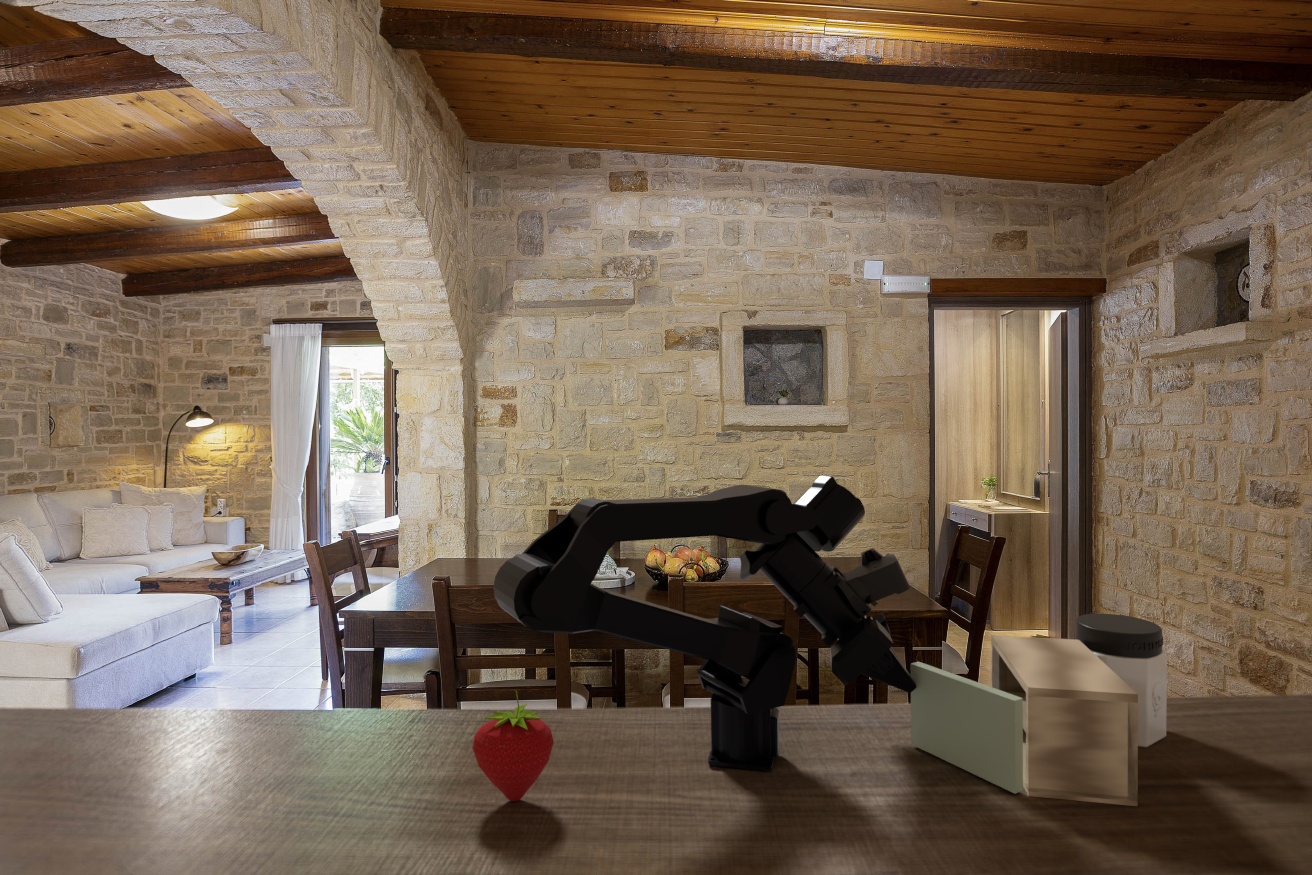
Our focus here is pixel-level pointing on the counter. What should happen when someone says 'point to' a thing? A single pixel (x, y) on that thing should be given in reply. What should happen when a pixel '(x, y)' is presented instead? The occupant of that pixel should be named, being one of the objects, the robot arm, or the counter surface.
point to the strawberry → (513, 750)
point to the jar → (1132, 664)
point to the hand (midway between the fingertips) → (913, 688)
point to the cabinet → (1070, 719)
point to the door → (968, 725)
